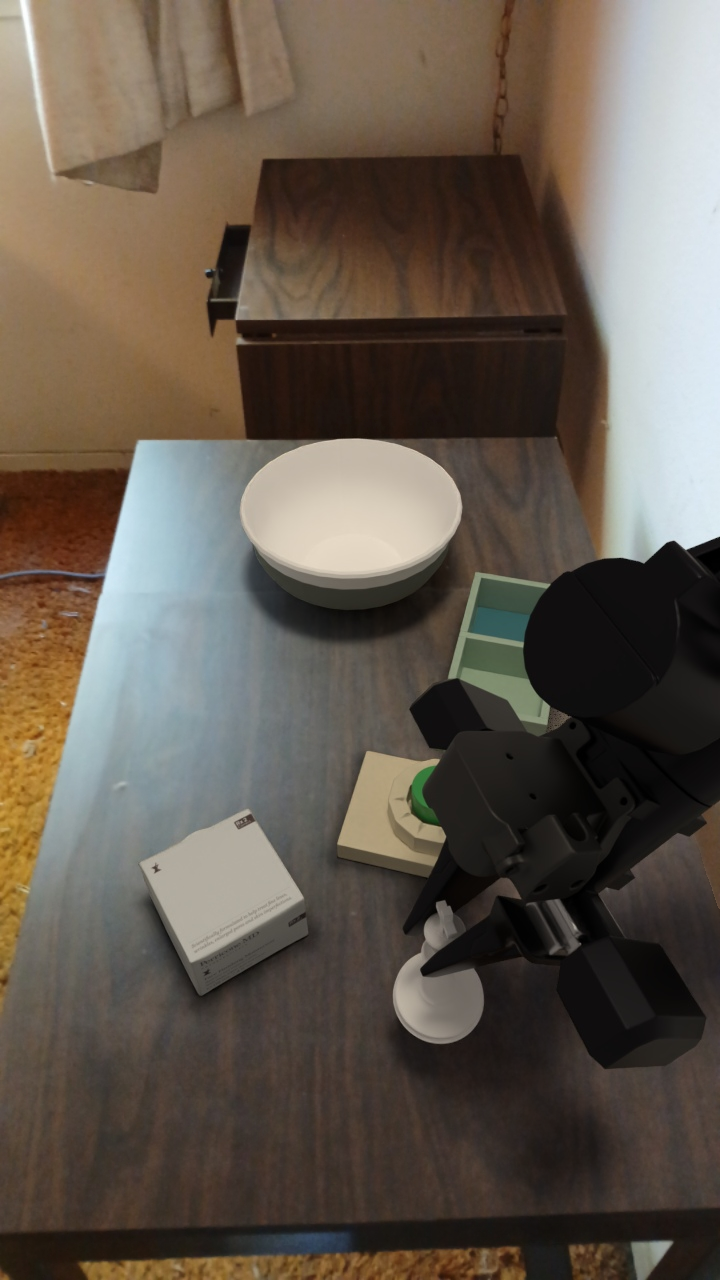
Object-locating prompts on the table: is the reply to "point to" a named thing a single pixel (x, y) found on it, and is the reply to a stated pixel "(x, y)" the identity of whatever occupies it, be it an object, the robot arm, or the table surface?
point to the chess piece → (438, 988)
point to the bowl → (351, 521)
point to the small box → (225, 899)
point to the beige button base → (389, 818)
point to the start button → (417, 797)
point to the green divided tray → (500, 644)
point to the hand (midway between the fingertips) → (417, 953)
